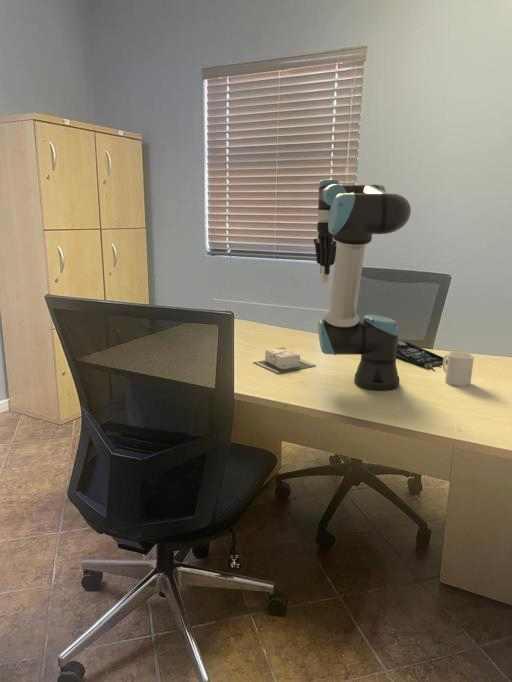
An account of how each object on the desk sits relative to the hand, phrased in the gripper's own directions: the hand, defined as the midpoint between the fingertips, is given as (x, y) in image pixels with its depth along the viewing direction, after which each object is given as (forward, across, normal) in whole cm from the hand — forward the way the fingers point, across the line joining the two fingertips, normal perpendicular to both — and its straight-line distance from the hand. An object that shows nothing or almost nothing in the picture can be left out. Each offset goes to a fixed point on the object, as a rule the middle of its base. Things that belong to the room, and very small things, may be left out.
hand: (324, 282), depth 207 cm
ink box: (+27, +2, +22) cm, 35 cm away
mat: (+29, -4, +22) cm, 37 cm away
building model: (+30, -26, -27) cm, 48 cm away
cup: (+30, -51, -17) cm, 61 cm away
